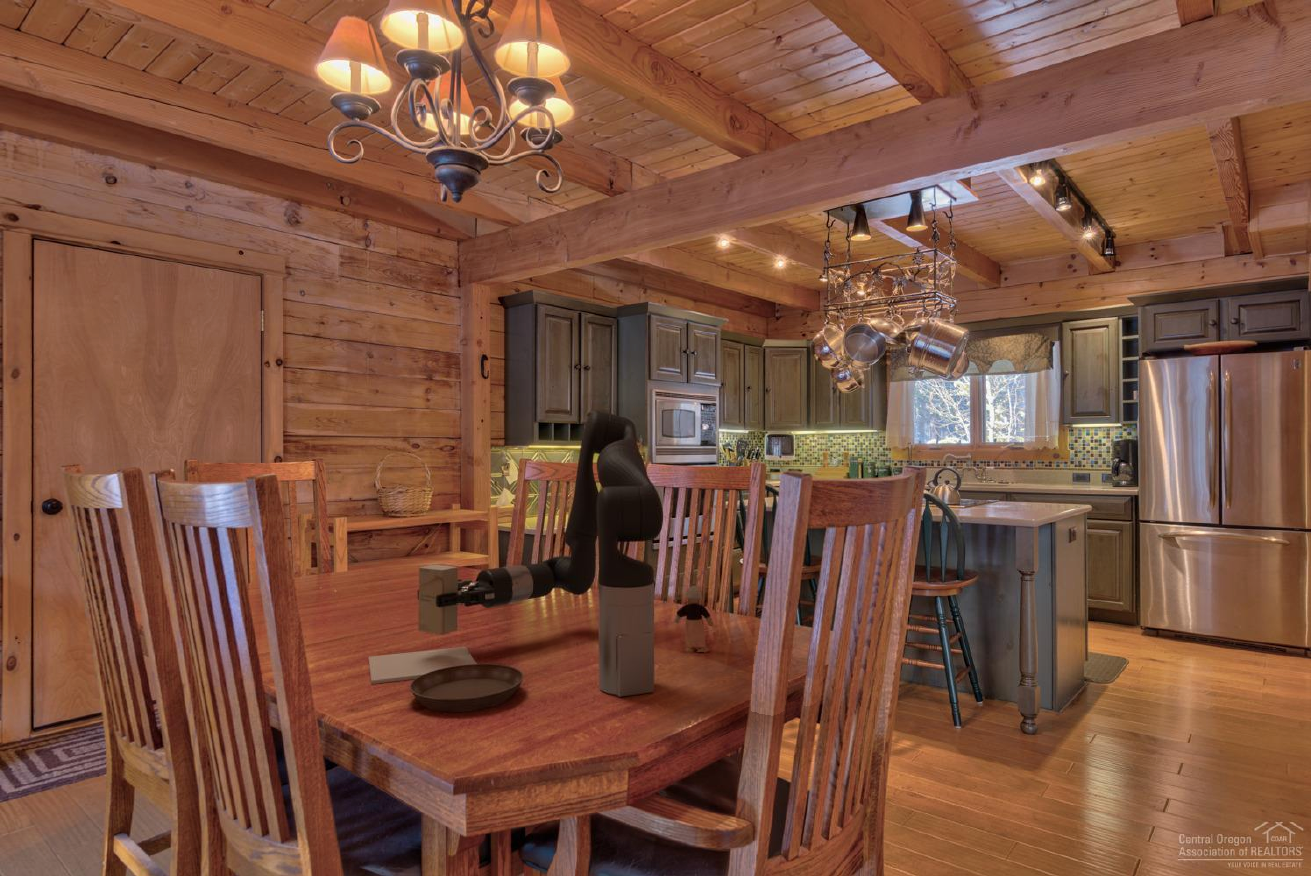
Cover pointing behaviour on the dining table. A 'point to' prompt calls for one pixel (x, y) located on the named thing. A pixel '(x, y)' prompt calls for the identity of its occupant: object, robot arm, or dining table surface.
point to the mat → (415, 664)
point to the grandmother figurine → (694, 620)
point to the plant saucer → (466, 687)
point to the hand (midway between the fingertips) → (427, 598)
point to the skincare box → (431, 585)
